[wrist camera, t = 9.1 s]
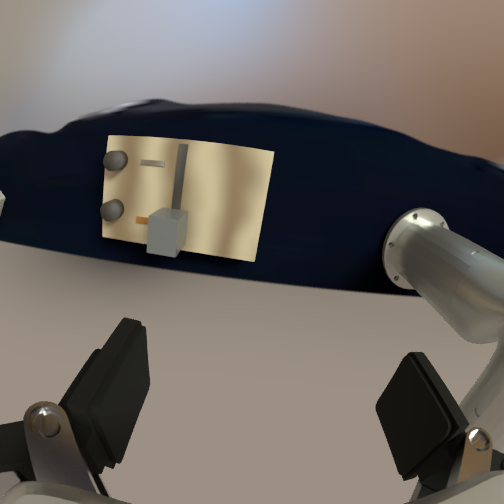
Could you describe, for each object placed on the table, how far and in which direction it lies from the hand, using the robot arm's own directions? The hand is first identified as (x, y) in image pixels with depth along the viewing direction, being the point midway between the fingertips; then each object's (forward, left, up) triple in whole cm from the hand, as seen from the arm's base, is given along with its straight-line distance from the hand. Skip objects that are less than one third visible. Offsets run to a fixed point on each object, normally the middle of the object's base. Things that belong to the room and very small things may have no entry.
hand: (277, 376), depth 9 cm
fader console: (+10, -1, -28) cm, 30 cm away
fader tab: (+10, +3, -24) cm, 26 cm away
